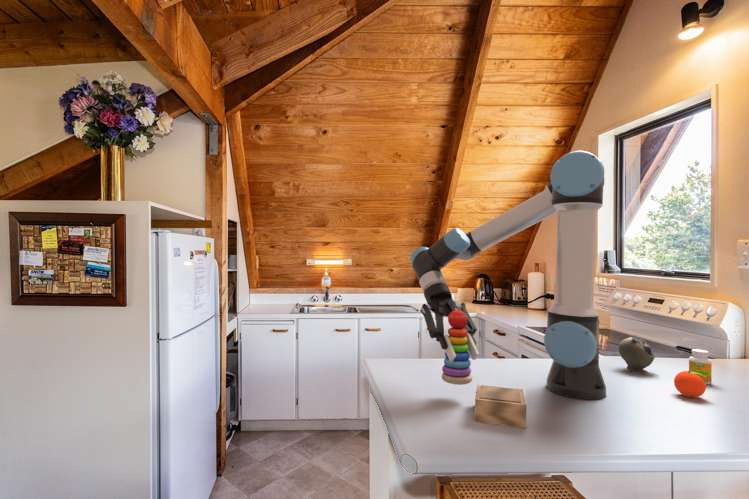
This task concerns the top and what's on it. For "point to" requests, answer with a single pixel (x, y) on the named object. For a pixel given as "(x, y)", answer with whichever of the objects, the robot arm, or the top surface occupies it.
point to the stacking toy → (457, 351)
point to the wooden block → (500, 406)
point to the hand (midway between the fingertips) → (464, 357)
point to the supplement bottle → (701, 364)
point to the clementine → (690, 384)
